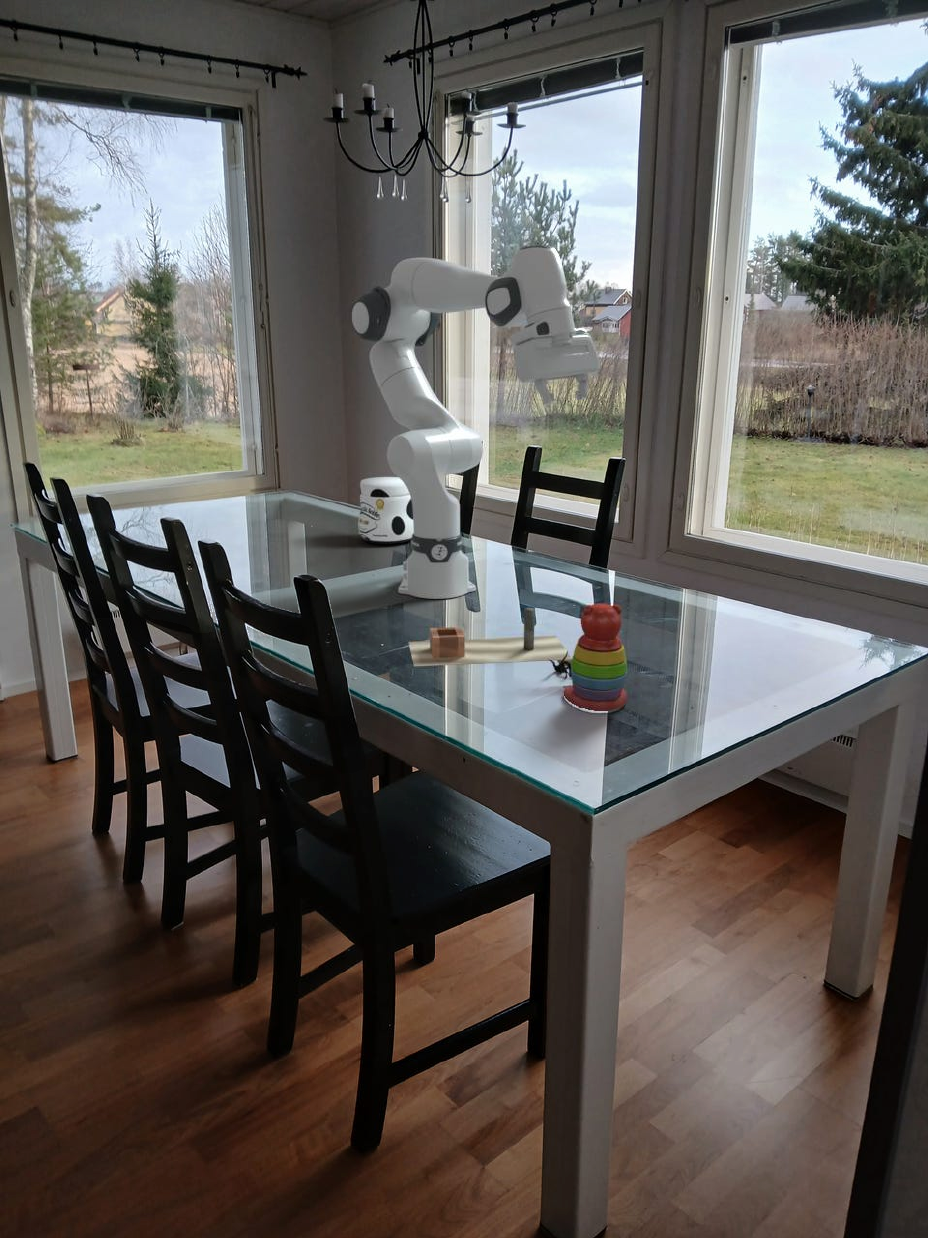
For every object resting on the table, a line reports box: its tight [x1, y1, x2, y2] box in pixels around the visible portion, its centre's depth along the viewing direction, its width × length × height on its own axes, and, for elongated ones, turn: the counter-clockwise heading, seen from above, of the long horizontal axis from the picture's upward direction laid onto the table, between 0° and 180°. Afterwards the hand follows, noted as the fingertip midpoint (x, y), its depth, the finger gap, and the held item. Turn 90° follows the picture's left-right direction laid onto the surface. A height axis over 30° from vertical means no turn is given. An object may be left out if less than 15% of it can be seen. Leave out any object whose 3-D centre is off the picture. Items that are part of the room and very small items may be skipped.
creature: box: [549, 650, 572, 688], centre depth 170 cm, size 8×5×8 cm
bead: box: [429, 626, 466, 658], centre depth 181 cm, size 6×6×4 cm
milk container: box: [357, 476, 414, 545], centre depth 278 cm, size 17×17×18 cm
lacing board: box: [407, 607, 573, 667], centre depth 182 cm, size 14×30×10 cm, turn 97°
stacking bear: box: [563, 603, 628, 711], centre depth 159 cm, size 11×10×18 cm
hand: (566, 401), depth 184 cm, fingers open, 8 cm apart
